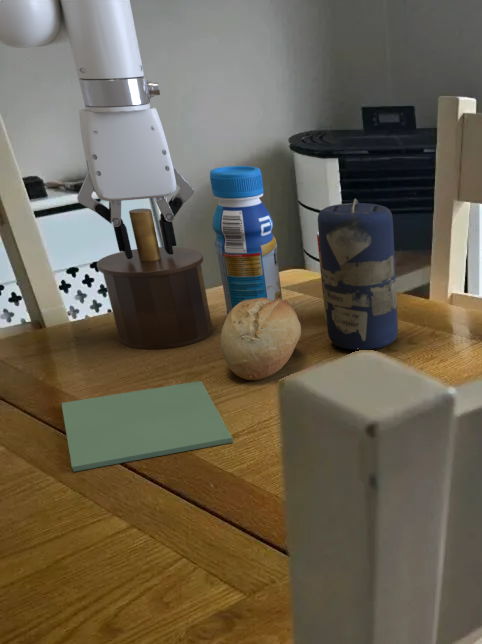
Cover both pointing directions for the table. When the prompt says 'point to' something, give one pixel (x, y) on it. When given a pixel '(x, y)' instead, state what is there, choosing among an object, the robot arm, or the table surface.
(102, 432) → the mat
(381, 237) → the blue pillar candle
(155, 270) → the lid
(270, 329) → the bread roll
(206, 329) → the basket
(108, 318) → the table surface
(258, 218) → the beverage bottle
